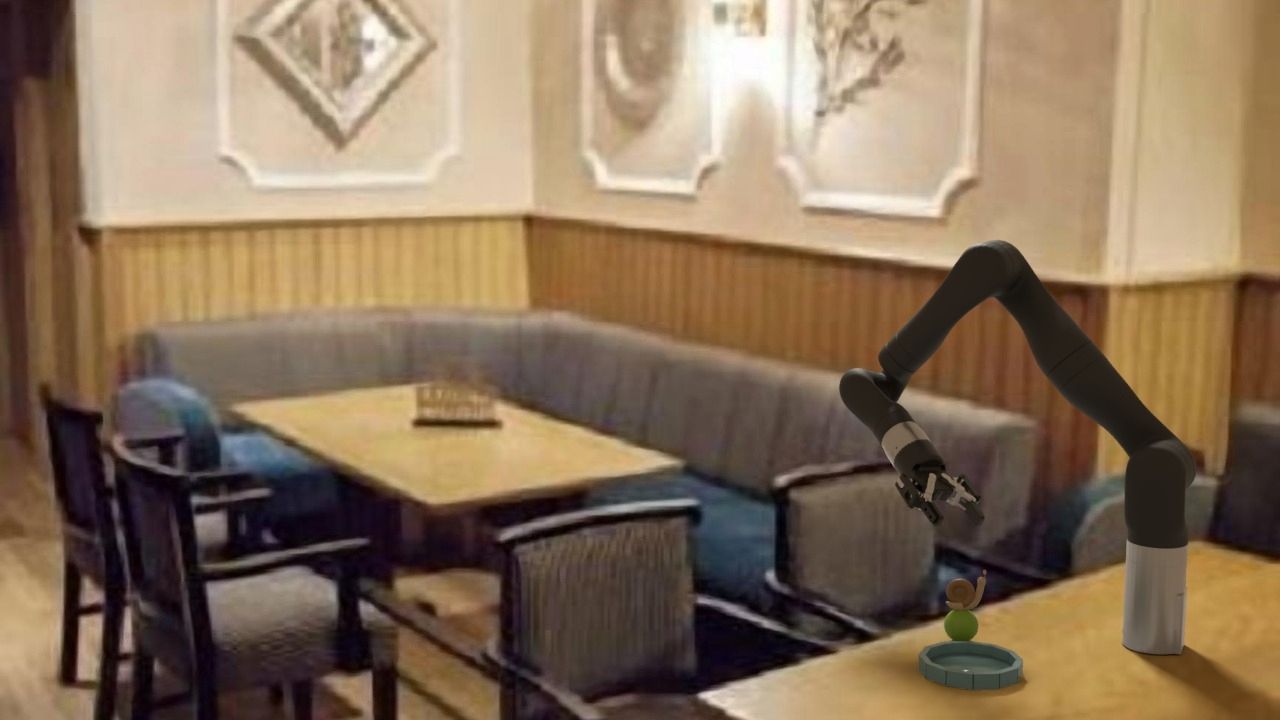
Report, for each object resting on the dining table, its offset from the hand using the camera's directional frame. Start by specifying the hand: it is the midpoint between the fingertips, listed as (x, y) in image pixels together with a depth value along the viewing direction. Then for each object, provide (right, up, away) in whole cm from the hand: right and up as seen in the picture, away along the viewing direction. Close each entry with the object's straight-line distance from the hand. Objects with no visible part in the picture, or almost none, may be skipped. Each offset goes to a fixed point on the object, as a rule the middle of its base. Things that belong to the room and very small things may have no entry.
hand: (960, 522), depth 244 cm
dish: (-1, -21, -13) cm, 25 cm away
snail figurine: (+1, -19, +1) cm, 20 cm away
